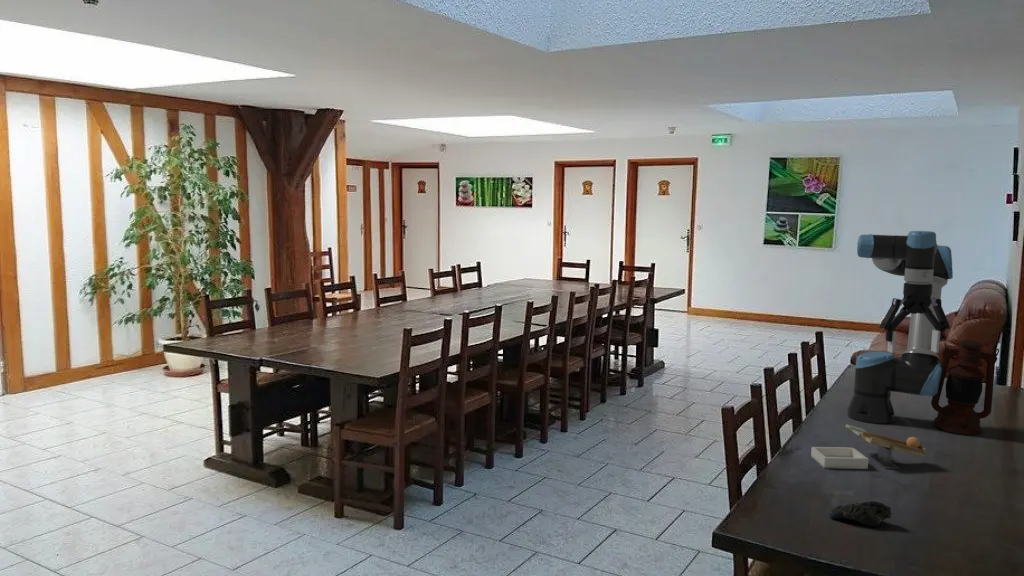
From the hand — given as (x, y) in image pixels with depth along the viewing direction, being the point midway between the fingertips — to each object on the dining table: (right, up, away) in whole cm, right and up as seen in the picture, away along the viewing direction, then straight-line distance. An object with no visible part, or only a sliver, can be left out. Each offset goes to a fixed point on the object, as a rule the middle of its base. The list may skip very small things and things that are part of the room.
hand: (912, 351), depth 219 cm
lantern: (+29, -28, +24) cm, 47 cm away
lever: (-12, -26, -5) cm, 29 cm away
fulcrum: (-13, -32, -9) cm, 35 cm away
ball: (-5, -26, -10) cm, 28 cm away
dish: (-26, -32, -9) cm, 42 cm away
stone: (-39, -37, -47) cm, 72 cm away
